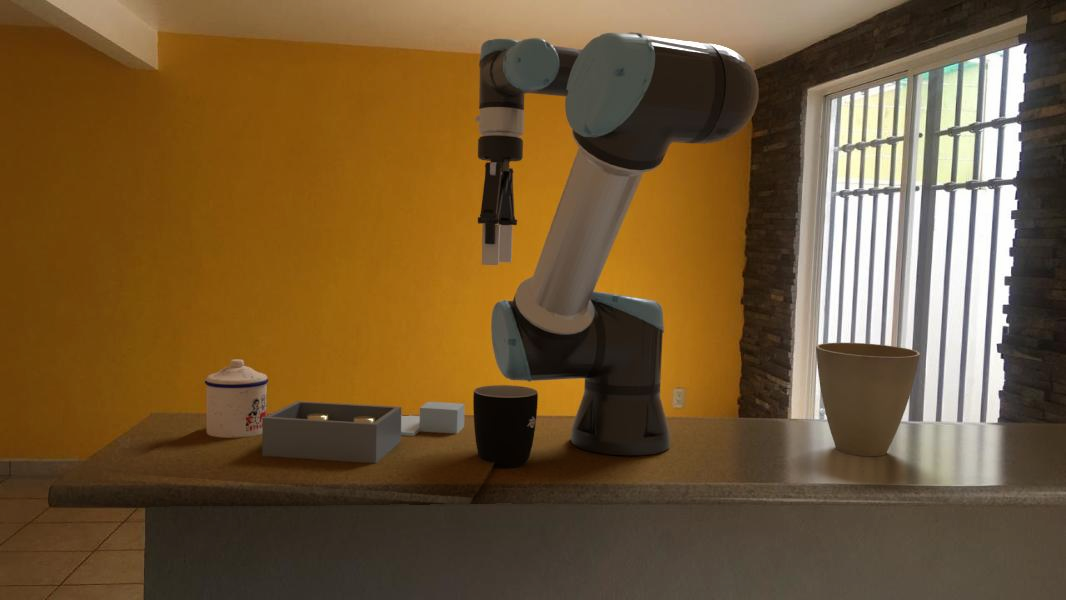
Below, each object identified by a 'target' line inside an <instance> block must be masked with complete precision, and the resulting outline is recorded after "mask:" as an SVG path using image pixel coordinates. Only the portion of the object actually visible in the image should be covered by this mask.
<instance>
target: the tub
mask: <svg viewBox="0 0 1066 600" xmlns="http://www.w3.org/2000/svg"><path fill="white" fill-rule="evenodd" d="M315 413H322V414H327V415H328V420H312V419H307V415H309V414H315ZM401 415H402V406H389V405H374V404H373V405H372V404H371V405H370V404H355V403H339V402H337V403H335V402H324V401H323V402H319V401H305V400H303V401H301V400H297V401H294V402H292V403H290V404H288V405H286V406H285V407H282V408H281V409H278V410H276V411H274V412H272V413H270V414H268V415H267V416H265V417H263V418H262V434H261V435H262V437H261V440H262V441H261V443H262V444H261V445H262V447H261V449H262V451H261V456H262V457H272V458H274V457H275V458H289V459H304V460H305V459H306V460H318V461H319V460H320V461H334V462H348V463H351V462H352V463H363V464H364V463H365V464H377V463H379V461H380V460H382V459H383V458H384V457H386V456H387V454H389V453H391V451H393V449H395V448H396V447H397V446H399V444H401V442H402V435H401ZM358 416H371V417H374V418H375V422H374V423H362V422H354V418H355V417H358Z"/></svg>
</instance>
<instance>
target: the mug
mask: <svg viewBox="0 0 1066 600" xmlns="http://www.w3.org/2000/svg"><path fill="white" fill-rule="evenodd" d="M472 397H473V401H472V403H473V408H472V409H473V410H472V411H473V423H474V424H473V428H474V438H475V445H476V450H477V454H478V457H479V459H480V460H483V461H485V462H488V463H493V465H492V468H497V469H499V468H500V469H502V468H503V469H510V468H512V469H513V468H518V467H522V466H524V465H526V464H527V462H528V460H529V459H530V455H531V452H532V447H533V444H534V439H535V438H534V437H535V432H536V423H537V415H538V399H539V394H538V391H537V390H536V389H534V388H531V387H527V386H520V385H512V384H511V385H508V384H507V385H505V384H502V385H500V384H499V385H498V384H497V385H494V384H493V385H485V386H479V387H476V388H475V389H474V390H473V396H472Z"/></svg>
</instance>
